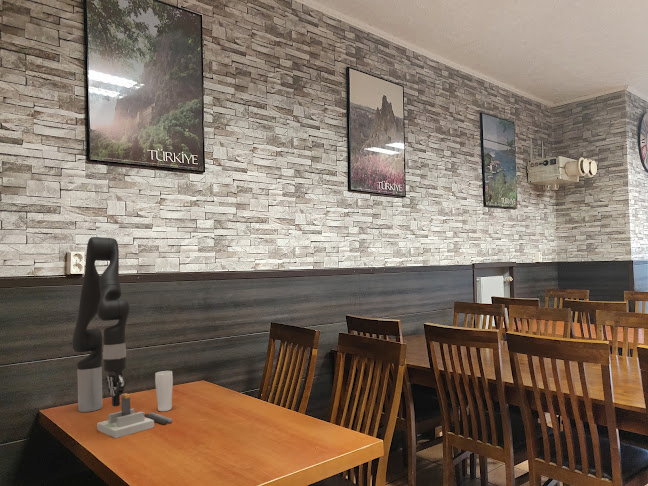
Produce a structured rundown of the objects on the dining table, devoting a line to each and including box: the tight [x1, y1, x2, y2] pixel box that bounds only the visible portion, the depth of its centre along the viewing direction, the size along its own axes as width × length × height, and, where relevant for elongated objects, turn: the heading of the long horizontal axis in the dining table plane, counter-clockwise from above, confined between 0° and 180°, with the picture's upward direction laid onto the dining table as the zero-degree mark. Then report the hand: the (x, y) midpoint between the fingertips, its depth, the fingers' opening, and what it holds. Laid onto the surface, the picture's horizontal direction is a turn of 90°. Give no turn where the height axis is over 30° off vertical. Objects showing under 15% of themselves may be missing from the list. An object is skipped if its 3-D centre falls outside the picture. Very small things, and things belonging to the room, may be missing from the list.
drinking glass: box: [154, 370, 174, 412], centre depth 199 cm, size 7×7×15 cm
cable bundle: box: [144, 411, 173, 425], centre depth 185 cm, size 16×4×2 cm, turn 47°
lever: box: [120, 392, 131, 417], centre depth 176 cm, size 5×2×9 cm, turn 47°
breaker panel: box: [96, 408, 155, 439], centre depth 176 cm, size 15×14×6 cm
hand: (115, 405), depth 174 cm, fingers closed
